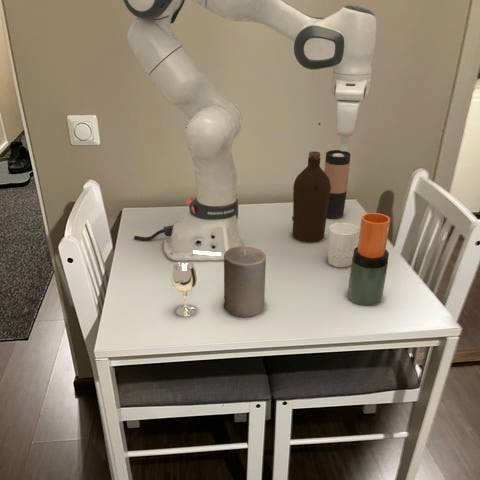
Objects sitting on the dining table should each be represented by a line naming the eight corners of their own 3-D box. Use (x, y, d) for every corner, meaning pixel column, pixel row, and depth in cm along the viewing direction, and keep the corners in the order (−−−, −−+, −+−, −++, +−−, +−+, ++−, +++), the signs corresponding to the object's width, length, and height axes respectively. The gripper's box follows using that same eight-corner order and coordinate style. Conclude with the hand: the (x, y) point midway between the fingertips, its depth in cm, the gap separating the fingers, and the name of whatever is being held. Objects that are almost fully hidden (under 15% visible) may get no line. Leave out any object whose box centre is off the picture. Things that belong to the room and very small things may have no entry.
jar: (355, 307, 132) (361, 264, 125) (342, 290, 138) (347, 248, 132) (387, 303, 133) (395, 260, 127) (373, 286, 140) (379, 245, 134)
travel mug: (317, 210, 182) (323, 150, 171) (340, 210, 183) (347, 149, 172) (323, 220, 176) (329, 157, 165) (346, 219, 177) (354, 156, 166)
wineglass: (178, 319, 127) (174, 274, 120) (170, 307, 131) (167, 262, 125) (201, 314, 129) (199, 269, 122) (193, 302, 133) (191, 258, 127)
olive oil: (333, 238, 165) (342, 154, 151) (306, 247, 159) (313, 161, 146) (309, 226, 172) (315, 145, 158) (283, 234, 167) (287, 151, 153)
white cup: (353, 270, 148) (358, 235, 142) (324, 267, 149) (327, 233, 143) (354, 257, 154) (359, 223, 149) (326, 254, 155) (329, 221, 150)
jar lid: (360, 269, 126) (362, 261, 125) (347, 254, 133) (348, 246, 132) (393, 266, 128) (394, 258, 127) (378, 250, 134) (380, 243, 133)
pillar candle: (215, 307, 131) (214, 250, 123) (242, 292, 138) (242, 236, 129) (247, 322, 126) (248, 263, 118) (273, 305, 132) (275, 248, 124)
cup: (363, 259, 126) (368, 224, 121) (353, 247, 131) (357, 214, 127) (389, 256, 127) (394, 222, 123) (377, 245, 132) (382, 211, 128)
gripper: (340, 77, 138) (334, 133, 146) (334, 93, 121) (328, 155, 129) (365, 78, 137) (358, 135, 145) (363, 94, 120) (356, 157, 128)
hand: (344, 145), depth 137 cm, fingers open, 8 cm apart
